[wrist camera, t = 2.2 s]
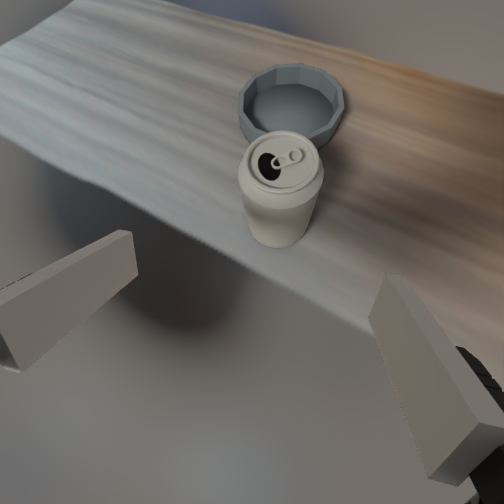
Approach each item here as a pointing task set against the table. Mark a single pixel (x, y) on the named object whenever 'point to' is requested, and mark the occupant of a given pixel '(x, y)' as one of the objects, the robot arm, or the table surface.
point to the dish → (291, 103)
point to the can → (280, 186)
